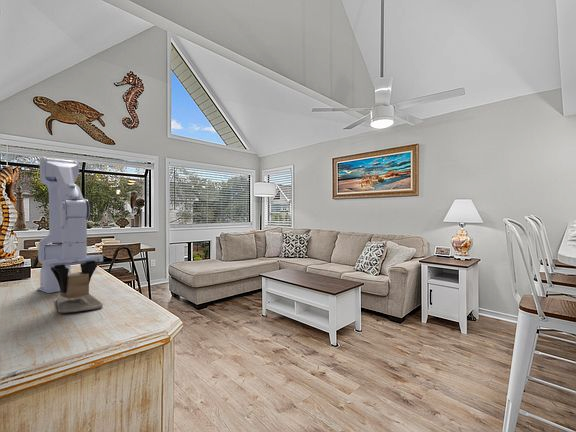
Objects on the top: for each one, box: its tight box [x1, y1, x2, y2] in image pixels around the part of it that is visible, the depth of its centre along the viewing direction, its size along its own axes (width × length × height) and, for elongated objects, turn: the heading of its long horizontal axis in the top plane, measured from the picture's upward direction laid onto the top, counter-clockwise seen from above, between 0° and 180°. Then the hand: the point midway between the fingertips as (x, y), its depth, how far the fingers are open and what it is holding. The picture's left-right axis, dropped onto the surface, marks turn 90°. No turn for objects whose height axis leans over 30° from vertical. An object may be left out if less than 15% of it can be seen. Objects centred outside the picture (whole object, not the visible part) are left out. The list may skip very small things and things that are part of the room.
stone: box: [56, 293, 104, 314], centre depth 86 cm, size 18×3×10 cm
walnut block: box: [60, 271, 90, 299], centre depth 86 cm, size 5×5×6 cm
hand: (74, 289), depth 86 cm, fingers closed on walnut block, 5 cm apart
